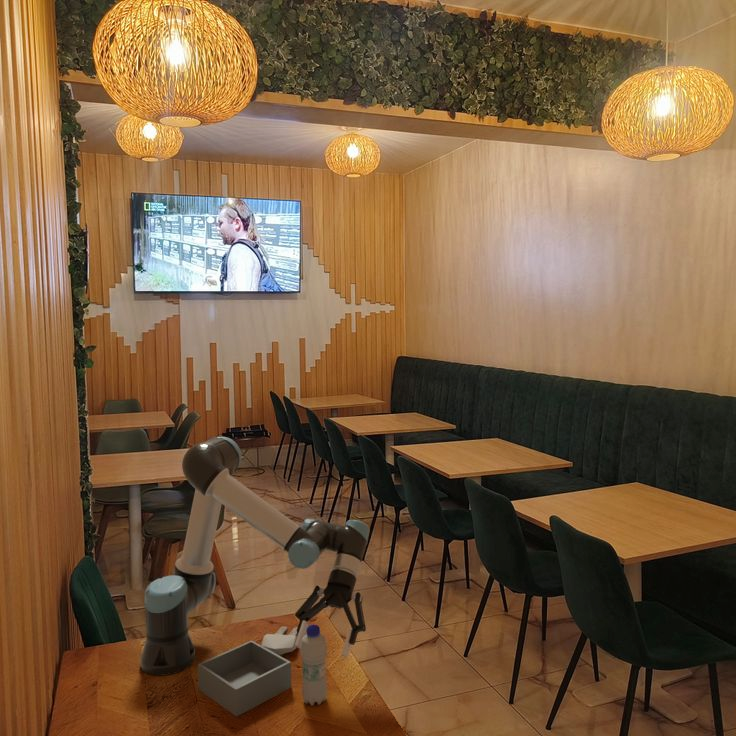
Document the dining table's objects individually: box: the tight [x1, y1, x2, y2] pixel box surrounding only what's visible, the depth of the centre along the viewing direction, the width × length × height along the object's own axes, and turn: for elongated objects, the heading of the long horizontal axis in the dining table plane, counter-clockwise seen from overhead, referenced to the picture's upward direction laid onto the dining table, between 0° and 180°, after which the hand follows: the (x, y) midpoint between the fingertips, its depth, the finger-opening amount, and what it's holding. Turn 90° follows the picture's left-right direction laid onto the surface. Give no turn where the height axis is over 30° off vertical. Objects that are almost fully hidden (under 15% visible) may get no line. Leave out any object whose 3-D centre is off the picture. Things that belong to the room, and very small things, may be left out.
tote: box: [197, 639, 292, 717], centre depth 171 cm, size 18×18×7 cm
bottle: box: [300, 624, 328, 706], centre depth 164 cm, size 7×7×20 cm
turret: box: [260, 626, 298, 656], centre depth 195 cm, size 10×20×5 cm, turn 173°
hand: (320, 651), depth 166 cm, fingers open, 13 cm apart
